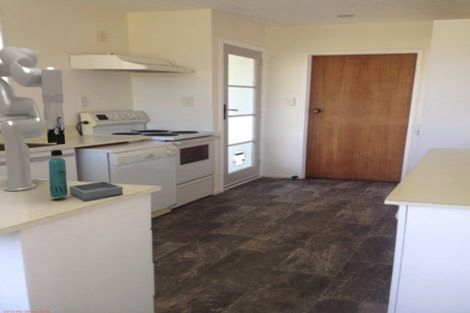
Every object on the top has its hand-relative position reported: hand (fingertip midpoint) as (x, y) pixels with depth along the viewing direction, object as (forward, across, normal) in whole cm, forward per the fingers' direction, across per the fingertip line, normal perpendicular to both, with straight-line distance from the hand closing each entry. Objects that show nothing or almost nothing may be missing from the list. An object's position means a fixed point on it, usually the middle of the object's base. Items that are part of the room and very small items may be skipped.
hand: (56, 143), depth 154 cm
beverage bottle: (+23, -1, 0) cm, 23 cm away
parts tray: (+23, +2, +14) cm, 27 cm away
